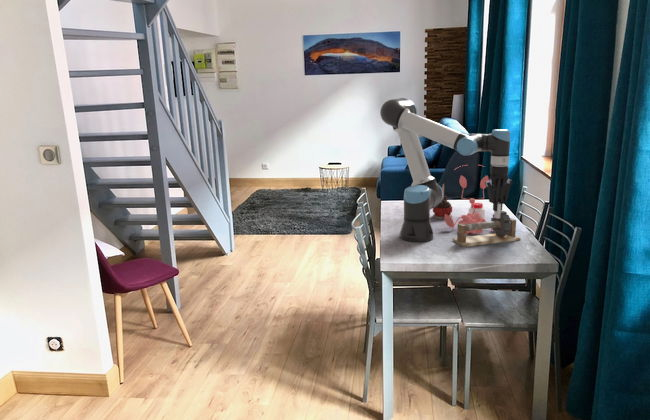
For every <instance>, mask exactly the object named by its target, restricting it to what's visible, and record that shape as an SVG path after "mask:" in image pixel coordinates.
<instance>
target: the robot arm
mask: <svg viewBox="0 0 650 420" xmlns="http://www.w3.org/2000/svg"><path fill="white" fill-rule="evenodd" d="M379 112H380V118H381V120H382V122H384V123H385V124H387V125H388V126H390V127H392V129H393V132H395V133H397V134H398V137H399V140H400V145H401V146H402V150H403V154H404V157H405V160H406V163H407V166H408V169H409V173H410V175H411V178H412V183H411V185H410V186H408V187H406V188H405V189H404V193H403V223H402V226H401V229H400V232H399V238H400V239H401V240H402V241H405V242H412V243H413V242H414V243H424V242H428V241H432V240H433V239H434V232H433V228H432V224H431V221H430V218H431V217H430V215H431V212H430V211H431V210H433V208H435V207H436V206H438V205H439V203H440V202H441V201H442V199H443V191H442V187H441V185H439V183H437V180H436V178H435V177H434V176H432V174H431V172H430V169H429V166H428V162H427V160H426V157H425V153H424V150H423V147H422V143H421V140H420V138H419V136H422V137H425V138H427V139H428V140H431V141H434V142H436V143H439V144H441V145H443V146H446V147H448V148H450V149H453V150H455V151H457V152H458V153H459V154H460V155H462V156H471V155H473V154H475V153H477V152H490V171H489V173H490V177H489V181H488V182H485V185H486V191H487V197H488V202H489V203H491V204H492V211H493V212H494V213H493V214H494V218H497V219H499V218H500V216H501V211H503V205H504V204H505V203H506V202H507V201H508V197H509V193H510V190H511V186H512V184H513V183H514V180H512V179H510V178H509V175H508V174H509V171H510V170H509V168H510V167H509V164H510V149H511V147H510V146H511V131H510V130H509V129H501V128H499V129H496V128H495V129H492V131H491V133H463V132H461V131H458V130H456V129H453V128H451V127H448V126H446V125H443V124H441V123H439V122H436V121H433V120H431V119H428V118H426V117H423V116H420V115H418V109H417V106H416V104H415V102H414V101H413V100H411V99H408V98H405V97H400V98H392V99H389V100H386V101H385V102H383V104H382V106H381V107H380V111H379Z"/></svg>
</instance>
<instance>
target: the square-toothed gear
mask: <svg viewBox="0 0 650 420" xmlns="http://www.w3.org/2000/svg"><path fill="white" fill-rule="evenodd" d="M510 218H511V217H510V215H509V214H508V212H507V211H505V210H501V216H500V218H499V219H497V218H494V213H493V214H492V217H491V218H490V221H497V220H500V221H501V228H492V229H493V230H492V231H493V233H496V235H497V236H499V237H502V236H506V235H508V233H509V232H510V231H509V230H511V226H512V223H511V222H509V221H510Z"/></svg>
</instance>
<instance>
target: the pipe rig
mask: <svg viewBox="0 0 650 420" xmlns="http://www.w3.org/2000/svg"><path fill="white" fill-rule="evenodd" d="M509 222H511V223H512V226H511V230H509V231H510V232H509V233H508V235H506V236H502V237H499V236H497V235H496V232H494V233H489V234H479V235H472V236H467V234H466V231H471V230H480V229H482V230H485V229H491V228H501V221H500V220H497V221H491V220H490V221H486V222H481V223H472V224H462V223H461V224H458V223H457V232H456V233H457V236H456V238H455V237H453V238H452V242H455V243H456V244H458V245H460V246H462V247H463V248H468V247H473V246H475V247H476V246H481V245H482V246H483V245H484V246H485V245H489V244H490V245H492V244H499V243H506V242H508V243H509V242H514V241H521V237H519V236H517V235H516V232H517V231H516V230H517V229H516V228H517V219H514V218H512V217H510V221H509Z"/></svg>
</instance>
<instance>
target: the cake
mask: <svg viewBox="0 0 650 420" xmlns="http://www.w3.org/2000/svg"><path fill="white" fill-rule="evenodd" d="M441 188H442V191H443V199H442V201H441V202H440V203H439V205H438V206H436V207H435V208H432V213H433V215H432V217H433V218H435V219H441V220H443V219H444V215H445V214H446V215H448V216H450V217H451V218H452V217H453V215H452V213H453V206H452V204H451V202H449V201H448V196H446V195H445V184H444V183H443V184H442V187H441Z"/></svg>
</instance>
